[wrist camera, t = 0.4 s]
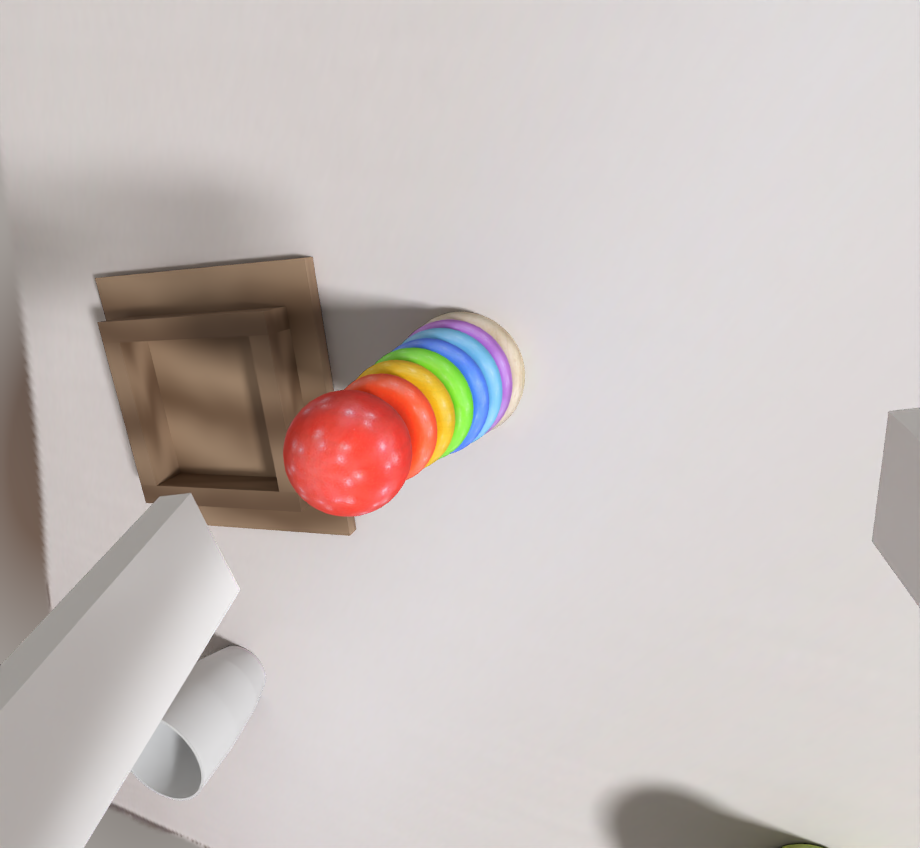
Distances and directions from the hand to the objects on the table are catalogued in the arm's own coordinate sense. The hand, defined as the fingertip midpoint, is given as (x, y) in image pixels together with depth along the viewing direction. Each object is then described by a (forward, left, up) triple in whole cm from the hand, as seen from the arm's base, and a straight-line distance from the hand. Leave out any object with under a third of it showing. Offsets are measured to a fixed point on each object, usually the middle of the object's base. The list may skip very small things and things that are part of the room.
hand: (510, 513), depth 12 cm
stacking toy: (+3, -9, -26) cm, 28 cm away
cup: (+30, -33, -26) cm, 52 cm away
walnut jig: (+5, -28, -26) cm, 39 cm away
